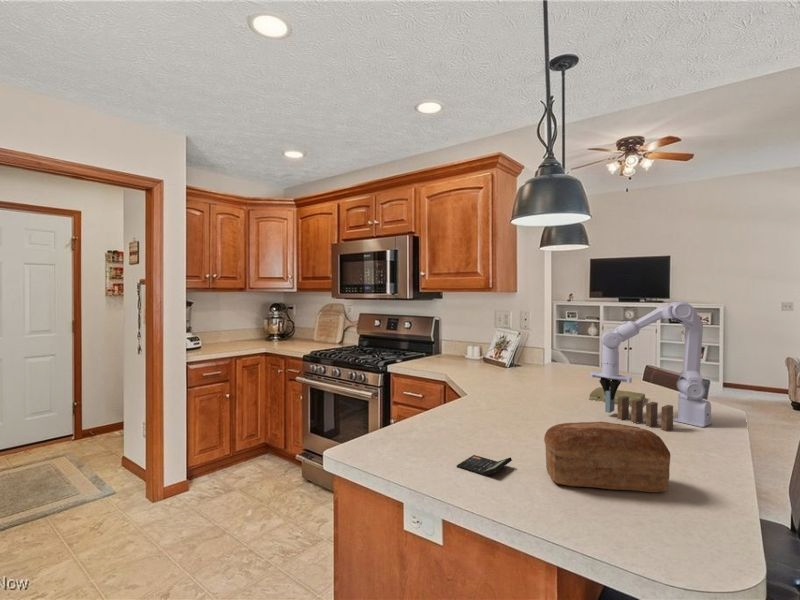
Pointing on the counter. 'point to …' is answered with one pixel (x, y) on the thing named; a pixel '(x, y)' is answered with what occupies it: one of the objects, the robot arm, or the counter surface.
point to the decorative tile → (600, 395)
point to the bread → (607, 456)
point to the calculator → (482, 465)
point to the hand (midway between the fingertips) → (610, 398)
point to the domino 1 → (609, 402)
